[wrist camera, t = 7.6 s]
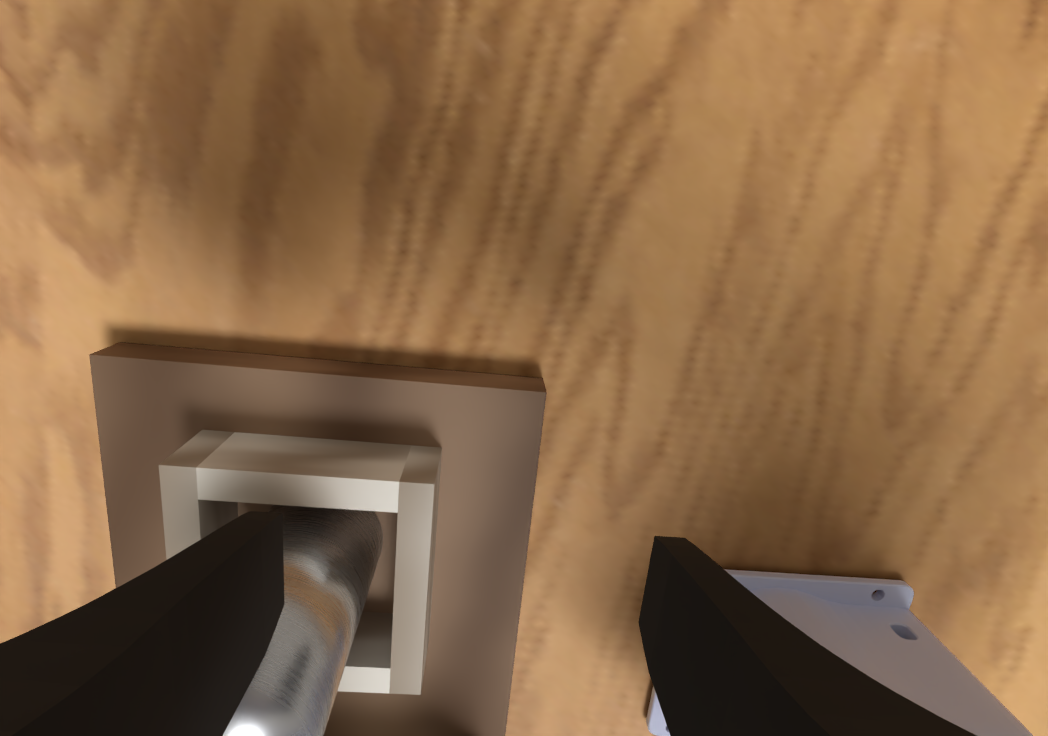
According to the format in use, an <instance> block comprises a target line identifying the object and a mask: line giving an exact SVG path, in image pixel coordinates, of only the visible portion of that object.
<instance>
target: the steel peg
mask: <svg viewBox="0 0 1048 736" xmlns="http://www.w3.org/2000/svg"><path fill="white" fill-rule="evenodd" d="M268 512H275V513H283V558H284V607H283V610H282V612H281V615H280V618H279V621H278V623H277V626H276V629H275V631H274V634H273V636H272V639H271V642H270V644H269V647H268V649H267V652H266V654H265V656H264V658H263V660H262V662H261V664H260V666H259V668H258V670H257V672H256V674H255V676H254V678H253V679H252V681H251V683H250V685H249V687H248V689H247V691H246V693H245V695H244V697H243V698H242V700H241V702H240V704H239V706H238V708H237V710H236V711H235V713H234V715H233V717H232V719H231V721H230V723H229V725H228V726H227V728H226V730H225V732H224V734H223V736H323V735H324V732H325V729H326V726H327V722H328V719H329V716H330V713H331V710H332V707H333V703H334V700H335V697H336V694H337V691H338V688H339V684H340V681H341V678H342V675H343V672H344V668H345V665H346V662H347V659H348V656H349V653H350V649H351V646H352V643H353V640H354V637H355V633H356V630H357V627H358V624H359V621H360V618H361V614H362V611H363V608H364V605H365V602H366V599H367V595H368V592H369V589H370V586H371V583H372V579H373V576H374V573H375V570H376V567H377V564H378V560H379V557H380V554H381V551H382V546H383V532H382V528H381V524H380V522H379V519H378V517H377V516H376V514H375V512H374V511H363V510H348V509H333V508H318V507H303V506H288V505H273V506H272V507H271V508H270V510H269V511H268Z"/></svg>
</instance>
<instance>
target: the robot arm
mask: <svg viewBox="0 0 1048 736" xmlns="http://www.w3.org/2000/svg"><path fill="white" fill-rule="evenodd" d="M876 590H877V592H875V593H874V594H872V593H873V592H874V591H876ZM913 597H914V591H913V589H912V588H911V587H910V586H909V585H908V584H907V583H906V582H905V581H901V580H889V579H873V578H857V577H841V576H824V575H808V574H792V573H776V572H760V571H743V570H727V569H723V568H722V567H721V566H719V565H718V564H717V563H716V562H715V561H713V560H712V559H711V558H710V557H709V556H707V555H706V554H705V553H704V552H703V551H701V550H700V549H699V548H698V547H696V546H695V545H694V544H692V543H691V542H690V541H688V540H687V539H686V538H678V537H662V536H655V537H654V542H653V548H652V553H651V559H650V564H649V569H648V575H647V580H646V585H645V591H644V596H643V601H642V607H641V612H640V618H639V627H640V632H641V637H642V642H643V647H644V652H645V657H646V661H647V666H648V670H649V674H650V677H651V680H652V683H653V689H652V694H651V699H650V704H649V709H648V714H647V718H646V723H647V727H648V730H649V731H650V733H652V734H653V735H658V736H1033V735H1032V734H1031V733H1030V732H1029V731H1028V730H1027V729H1026V728H1025V726H1024V725H1023V724H1022V723H1021V722H1020V721H1019V720H1018V719H1017V718H1016V717H1015V716H1014V715H1013V714H1012V713H1011V712H1010V711H1009V710H1008V709H1007V708H1006V707H1005V706H1004V705H1003V704H1002V703H1001V702H1000V701H999V700H998V699H997V698H996V697H995V696H994V695H993V694H992V693H991V692H990V691H989V690H988V689H987V688H986V687H985V686H984V685H983V684H982V683H981V682H980V681H979V680H978V679H977V678H976V677H975V676H974V675H973V674H972V673H971V672H970V671H969V670H968V669H967V668H966V667H965V666H964V665H963V664H962V663H961V662H960V661H959V660H958V659H957V658H956V657H955V656H954V655H953V654H952V653H951V652H950V651H949V650H948V649H947V648H946V647H945V646H944V645H943V644H942V643H941V642H940V641H939V640H938V639H937V638H936V637H935V636H934V635H933V634H932V632H931V631H930V630H929V629H928V628H927V627H926V626H925V625H924V624H923V623H922V622H921V621H920V620H919V619H918V618H917V617H916V616H915V615H914V614H913V613H912V612H911V611H910V610H909V608H910V605H911V602H912V599H913ZM283 607H284V558H283V513H275V512H259V511H249V512H247V513H245V514H243V515H241V516H239V517H237V518H235V519H234V520H232V521H230V522H229V523H227V524H225V525H224V526H222V527H220V528H219V529H217V530H215V531H214V532H212V533H210V534H209V535H207V536H206V537H204V538H202V539H201V540H199V541H197V542H196V543H194V544H192V545H191V546H189V547H187V548H186V549H184V550H182V551H181V552H179V553H177V554H176V555H174V556H172V557H171V558H169V559H167V560H166V561H164V562H162V563H161V564H159V565H157V566H156V567H154V568H152V569H150V570H148V571H147V572H145V573H143V574H141V575H139V576H137V577H136V578H134V579H132V580H130V581H128V582H127V583H125V584H123V585H121V586H119V587H117V588H116V589H114V590H112V591H110V592H108V593H107V594H105V595H103V596H101V597H99V598H97V599H95V600H93V601H91V602H90V603H88V604H86V605H84V606H82V607H80V608H78V609H76V610H73V611H71V612H69V613H67V614H65V615H63V616H61V617H59V618H57V619H55V620H52V621H50V622H48V623H46V624H44V625H42V626H39V627H37V628H35V629H33V630H31V631H29V632H26V633H24V634H22V635H20V636H17V637H15V638H13V639H10V640H8V641H6V642H3V643H1V644H0V736H223V734H224V732H225V730H226V728H227V726H228V725H229V723H230V721H231V719H232V717H233V715H234V713H235V711H236V710H237V708H238V706H239V704H240V702H241V700H242V698H243V697H244V695H245V693H246V691H247V689H248V687H249V685H250V683H251V681H252V679H253V678H254V676H255V674H256V672H257V670H258V668H259V666H260V664H261V662H262V660H263V658H264V656H265V654H266V652H267V649H268V647H269V644H270V642H271V639H272V636H273V634H274V631H275V629H276V626H277V623H278V621H279V618H280V615H281V612H282V610H283Z"/></svg>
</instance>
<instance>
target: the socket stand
mask: <svg viewBox="0 0 1048 736" xmlns="http://www.w3.org/2000/svg"><path fill="white" fill-rule="evenodd" d="M89 356H90V364H91V373H92V382H93V391H94V400H95V408H96V417H97V426H98V435H99V443H100V452H101V461H102V470H103V478H104V487H105V496H106V505H107V514H108V522H109V531H110V540H111V549H112V557H113V566H114V575H115V584H116V588H117V587H119V586H121V585H123V584H125V583H127V582H128V581H130V580H132V579H134V578H136V577H137V576H139V575H141V574H143V573H145V572H147V571H148V570H150V569H152V568H154V567H156V566H157V565H159V564H161V563H162V562H164V561H166V560H167V559H169V558H171V557H172V556H174V555H176V554H177V553H179V552H181V551H182V550H184V549H186V548H187V547H189V546H191V545H192V544H194V543H196V542H197V541H199V540H201V539H202V538H204V537H206V536H207V535H209V534H210V533H212V532H214V531H215V530H217V529H219V528H220V527H222V526H224V525H225V524H227V523H229V522H230V521H232V520H234V519H235V518H237V517H239V516H241V515H243V514H245V513H247V512H249V511H259V512H268V511H269V510H270V508H271V507H272V506H273V505H288V506H303V507H318V508H333V509H348V510H363V511H374V512H375V514H376V516H377V517H378V519H379V522H380V524H381V528H382V532H383V546H382V551H381V554H380V557H379V560H378V564H377V567H376V570H375V573H374V576H373V579H372V583H371V586H370V589H369V592H368V595H367V599H366V602H365V605H364V608H363V611H362V614H361V618H360V621H359V624H358V627H357V630H356V633H355V637H354V640H353V643H352V646H351V649H350V653H349V656H348V659H347V662H346V665H345V668H344V672H343V675H342V678H341V681H340V684H339V688H338V691H337V694H336V697H335V700H334V703H333V707H332V710H331V713H330V716H329V719H328V722H327V726H326V729H325V732H324V735H323V736H505V732H506V724H507V715H508V707H509V699H510V691H511V682H512V674H513V666H514V657H515V649H516V641H517V633H518V624H519V616H520V608H521V599H522V591H523V583H524V575H525V566H526V558H527V550H528V541H529V533H530V525H531V517H532V508H533V500H534V492H535V483H536V475H537V467H538V458H539V450H540V442H541V434H542V425H543V417H544V409H545V400H546V389H545V385H544V381H543V378H534V377H523V376H511V375H499V374H487V373H475V372H463V371H452V370H440V369H428V368H416V367H404V366H393V365H381V364H369V363H357V362H345V361H333V360H322V359H310V358H298V357H286V356H274V355H263V354H251V353H239V352H227V351H215V350H203V349H192V348H180V347H168V346H156V345H144V344H133V343H121V342H120V343H117V344H115V345H112V346H110V347H107V348H105V349H102V350H100V351H97V352H95V353H92V354H90V355H89Z"/></svg>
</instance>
